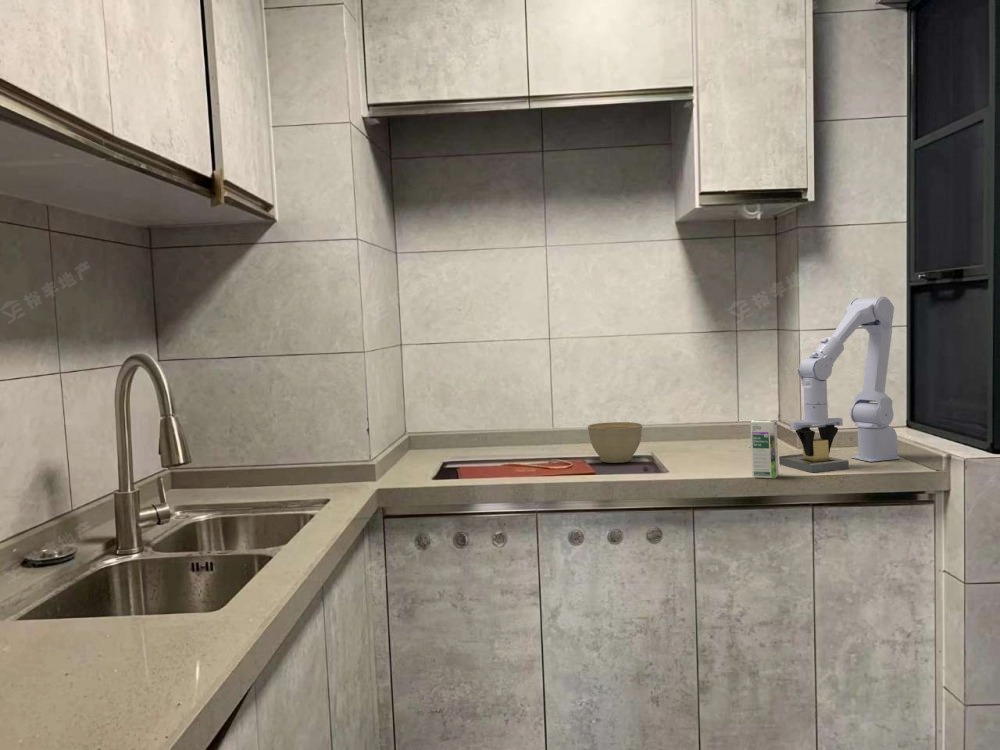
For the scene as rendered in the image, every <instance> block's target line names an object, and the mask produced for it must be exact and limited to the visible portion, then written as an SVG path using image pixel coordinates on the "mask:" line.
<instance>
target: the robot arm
mask: <svg viewBox="0 0 1000 750" xmlns="http://www.w3.org/2000/svg"><path fill="white" fill-rule="evenodd" d="M894 312H895V306H894V304H893V303H892V302H891V301H890V299H889V298H888V297H886V296H879V297H866V298H854V299H852V300H851V301H850V303H849V304H848V305H847V306H846V308H845V315H844V316H843V318H842V319H841V321H840V323H839V324H838V326H837V327H836V328H835V330H834V331H833V333H832V335H831V336H825V337H823V338H821V340H820V343H819V344H818V346H817V347H816V348H815V349H814V351H812V352H811V354H810V356H809V357H807V358H805V359H803V360H802V361H801V362H800V364H799V366H798V369H797V370H796V371H797V374H798V376H799V378H800V379H801V380H800V381H801V385H802V387H803V412H804V413H803V415H804V419H803V420H802V419H801V420H797V421H791V422H790V421H789V430H791V431H795V433H796V435H797V436H798V438H799V440H800V442H801V445H802V449H803V448H804V451H805V454H806V456H813V440H814V438H815V434H816V431H815V430H812V429H817V431H818V432H819V438H822V439H825V440H828V447H829V454H830V452H831V448H832V446H833V445H832V444H833V441H834V438H835V437H836V435H837V433H838V431H839V427H840V426H844V425H843V424H844V423H843V422H844V421H843V420H844V419H843V417H830V418H829V409H828V407H829V406H828V384H827V383H828V382H827V380H828V379H829V378H830V377H831V375H832V373H833V371H832V370H833V367H834V364H835V362H836V361H837V360H838V358H839V357H840V355H841V354H842V353H843V352H844V350H845V346H844V343H845V342H846V341H847V340H848V338H849V337H850V336H852V334H853V333H854V332H855V331H856V330H857V329H858V328H859V326H860V327H861V328H862V329H864V330H866V332H867V333H868V334H869V335H868V344H867V349H866V350H867V353H866V359H865V360H866V361H865V368H864V374H863V375H864V376H863V385H862V390H861V391H860V392H859V393H857V394H856V395H855V396H854V398H853V399H854V400H853V403H852V405H851V407H850V411H849V416H850V419H851V421H852V422H853V423H854V425H855V426H854V427H857V451H858V452H857V455H851V456H850V458H851V459H854V460H855V459H856V460H860V461H865V462H871V463H874V462H882V461H891V460H900V459H901V457H900V456H899V455H898V452H899V451H898V434H897V430H896V429H895V428H894V427H893V426H890V425H891V423H892V422H893V419H894V409H893V401H894V400H893V399H892V398H891V397H890V396H889V395H888V394H887V393H886V392H885V391H886V384H887V374H888V366H889V358H890V351H891V342H892V341H891V340H892V335H893V319H894ZM836 426H837V427H836Z"/></svg>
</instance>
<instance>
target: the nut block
mask: <svg viewBox="0 0 1000 750" xmlns="http://www.w3.org/2000/svg"><path fill="white" fill-rule="evenodd" d="M802 454H803V459H804V461H807V462H812V463H820V462H829V457H830V453H829V447H828V440H825V439H822V438H820V437H814V440H813V456H806V454H805V451H804V448H803V447H802Z"/></svg>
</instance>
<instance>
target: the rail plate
mask: <svg viewBox="0 0 1000 750" xmlns="http://www.w3.org/2000/svg"><path fill="white" fill-rule="evenodd" d="M779 464H780V466H784V467H788V468H792V469H796V470H800V471H803V472H807V473H813V474H814V473H824V472H830V471H840V470H849V469H850V467H849V459H840V458H836V457H831V456H829V462H820V463H812V462H807V461H804V459H803V453H797V454H796V453H795V454H789V455H778V465H779Z"/></svg>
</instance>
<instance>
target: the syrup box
mask: <svg viewBox="0 0 1000 750" xmlns="http://www.w3.org/2000/svg"><path fill="white" fill-rule="evenodd" d="M777 424H778V423H777V419H776V418H775V419H768V418H767V419H766V418H765V419H761V418H759V419H756V418H755V419H752V420H751V421H750V423H749V425H750V443H751V445H750V446H751V463H752V464H751V465H752V466H751V467H752V469H751V470H752V471H751V473H752V478H754V479H757V478H758V479H776V478H777V477H778V475H779V472H780V471H779V455H778V454H779V449H778V425H777Z"/></svg>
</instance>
